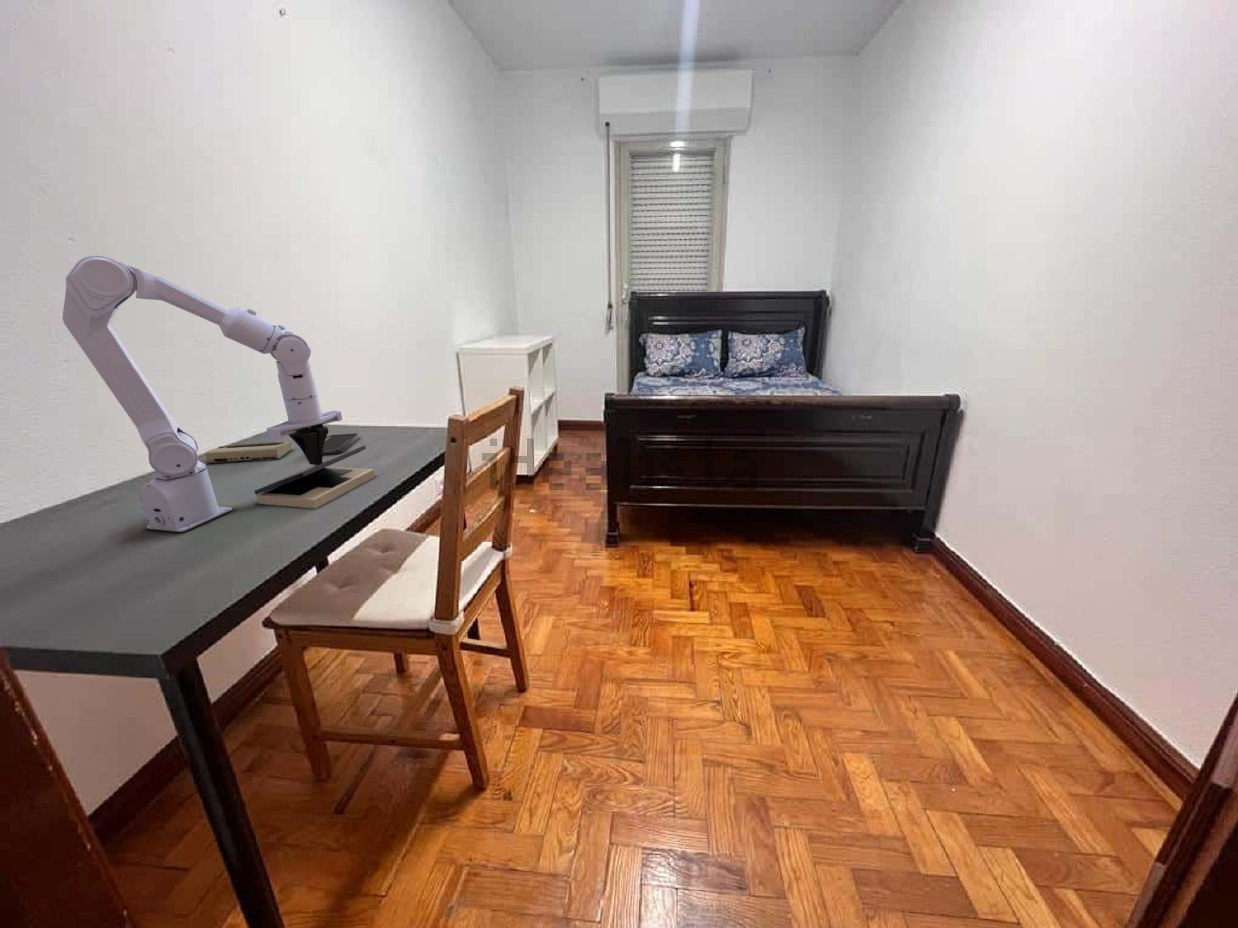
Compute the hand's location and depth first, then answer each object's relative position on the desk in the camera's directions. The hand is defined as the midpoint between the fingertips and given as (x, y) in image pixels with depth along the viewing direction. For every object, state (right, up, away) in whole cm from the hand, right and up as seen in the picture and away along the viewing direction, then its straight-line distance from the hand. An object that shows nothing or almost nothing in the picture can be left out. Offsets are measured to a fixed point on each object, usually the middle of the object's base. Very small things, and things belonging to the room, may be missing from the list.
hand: (316, 463), depth 104 cm
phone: (-13, +5, +31) cm, 34 cm away
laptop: (0, -5, +2) cm, 6 cm away
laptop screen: (-1, -1, +1) cm, 2 cm away
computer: (-30, +2, +24) cm, 39 cm away
